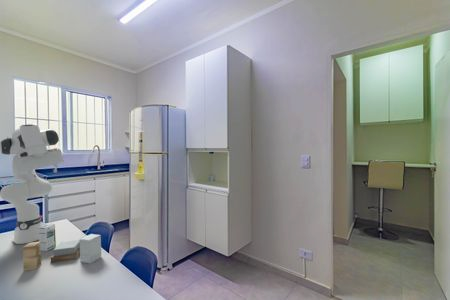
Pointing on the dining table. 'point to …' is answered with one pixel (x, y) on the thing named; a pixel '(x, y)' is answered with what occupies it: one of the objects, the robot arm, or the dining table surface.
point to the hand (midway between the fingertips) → (45, 174)
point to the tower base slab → (65, 257)
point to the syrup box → (47, 237)
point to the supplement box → (90, 248)
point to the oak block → (31, 256)
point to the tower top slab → (66, 248)
